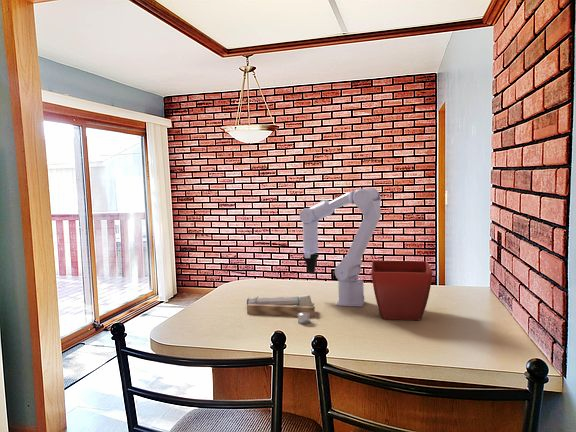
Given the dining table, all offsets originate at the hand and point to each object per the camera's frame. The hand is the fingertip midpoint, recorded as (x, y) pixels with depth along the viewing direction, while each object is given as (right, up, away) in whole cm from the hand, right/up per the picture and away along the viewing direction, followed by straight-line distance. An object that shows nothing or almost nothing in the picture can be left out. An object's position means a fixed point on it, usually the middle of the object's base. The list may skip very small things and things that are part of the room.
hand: (311, 273), depth 179 cm
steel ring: (-4, -13, -29) cm, 32 cm away
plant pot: (+29, -11, -24) cm, 39 cm away
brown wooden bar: (-12, -12, -19) cm, 26 cm away
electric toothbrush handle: (-12, -12, -14) cm, 22 cm away
